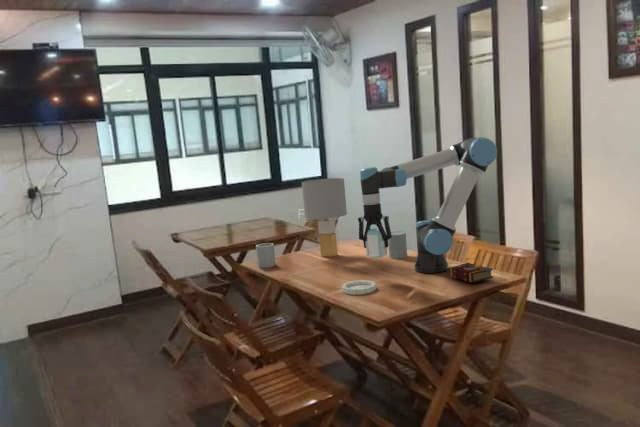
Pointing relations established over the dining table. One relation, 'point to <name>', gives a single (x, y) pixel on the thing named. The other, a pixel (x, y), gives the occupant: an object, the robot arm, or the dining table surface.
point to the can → (375, 243)
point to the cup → (265, 255)
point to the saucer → (358, 287)
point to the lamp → (325, 209)
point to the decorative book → (470, 272)
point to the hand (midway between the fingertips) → (377, 254)
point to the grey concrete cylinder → (397, 245)
